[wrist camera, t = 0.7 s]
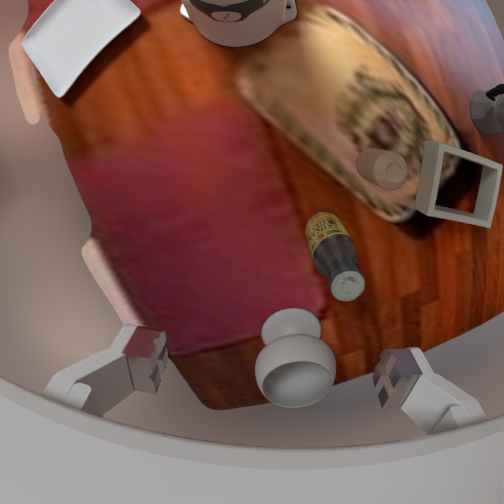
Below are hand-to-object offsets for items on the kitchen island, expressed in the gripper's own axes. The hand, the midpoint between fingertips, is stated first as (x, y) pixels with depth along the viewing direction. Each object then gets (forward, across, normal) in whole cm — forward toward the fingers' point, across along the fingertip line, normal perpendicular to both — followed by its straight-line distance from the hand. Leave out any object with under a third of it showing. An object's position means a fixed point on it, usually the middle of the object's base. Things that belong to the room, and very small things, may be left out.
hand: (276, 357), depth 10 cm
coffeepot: (+41, -40, -21) cm, 60 cm away
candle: (+40, -17, -5) cm, 44 cm away
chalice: (+40, -8, +29) cm, 50 cm away
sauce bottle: (+40, -10, +7) cm, 42 cm away
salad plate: (+41, +38, -28) cm, 62 cm away
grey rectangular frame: (+40, -35, -5) cm, 53 cm away
